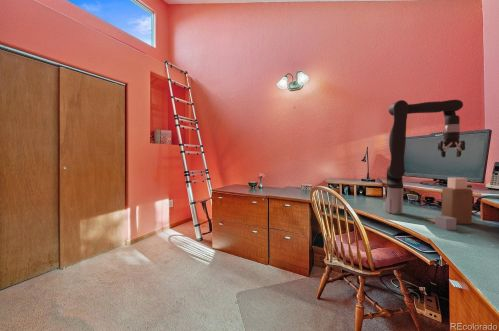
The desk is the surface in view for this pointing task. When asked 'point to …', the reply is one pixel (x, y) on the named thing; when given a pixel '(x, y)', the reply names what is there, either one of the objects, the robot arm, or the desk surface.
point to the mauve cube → (445, 222)
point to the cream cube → (457, 183)
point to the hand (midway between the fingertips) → (450, 157)
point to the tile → (431, 220)
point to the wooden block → (457, 204)
